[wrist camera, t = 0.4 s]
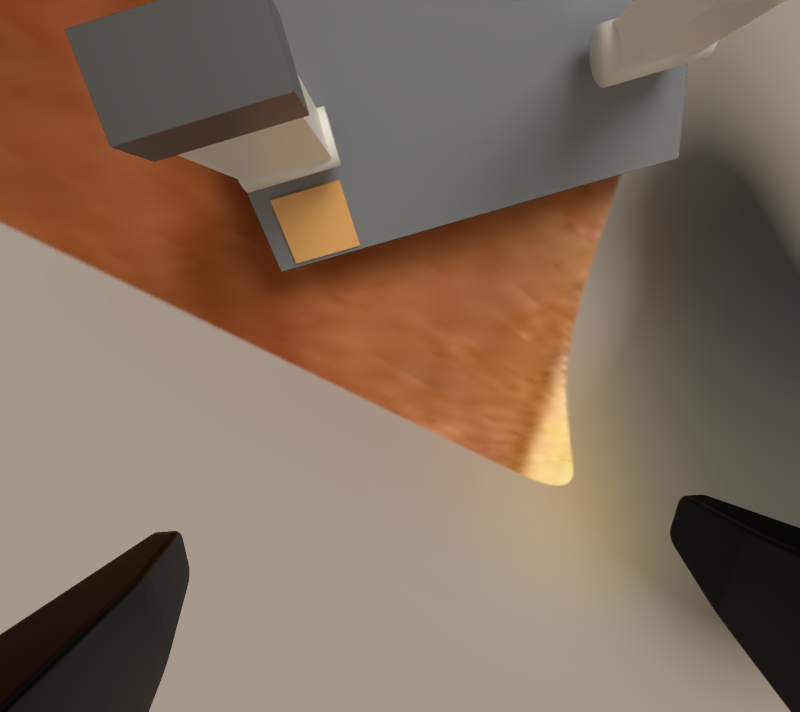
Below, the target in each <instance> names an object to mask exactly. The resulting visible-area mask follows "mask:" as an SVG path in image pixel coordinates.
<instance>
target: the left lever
mask: <svg viewBox="0 0 800 712" xmlns="http://www.w3.org/2000/svg"><path fill="white" fill-rule="evenodd" d="M65 31H66V34H67V36H68V39H69V42H70V44H71V47H72V49H73V52H74V54H75V57H76V60H77V62H78V65H79V67H80V70H81V72H82V75H83V78H84V80H85V83H86V85H87V88H88V90H89V93H90V96H91V98H92V101H93V103H94V106H95V108H96V111H97V114H98V116H99V119H100V121H101V124H102V127H103V129H104V132H105V134H106V137H107V139H108V142H109V145H110V147H112V148H115V149H118V150H121V151H124V152H127V153H130V154H133V155H136V156H139V157H142V158H145V159H148V160H151V161H154V162H156V161H159V160H162V159H166V158H169V157H172V156H176V155H178V156H181V157H183V158H186V159H188V160H191V161H193V162H196V163H198V164H201V165H203V166H206V167H208V168H211V169H213V170H216V171H218V172H221V173H223V174H226V175H228V176H231V177H233V178H236V179H238V181H239V183H240V185H241V186H242V188H243V189H244V190H245V191H246V192H247V193H249V192H253V191H256V190H260V189H263V188H266V187H270V186H273V185H277V184H280V183H283V182H287V181H290V180H294V179H297V178H300V177H304V176H307V175H311V174H314V173H317V172H321V171H324V170H327V169H331V168H334V167H338V166H341V165H342V164H341V159H340V155H339V151H338V147H337V144H336V140H335V137H334V134H333V130H332V127H331V124H330V121H329V118H328V115H327V112H326V109H325V107H324V106H322V107H319V108H316V106H315V105H314V103H313V101H312V99H311V97H310V96H309V94H308V92H307V90H306V88H305V86H304V85H303V83H302V81H301V79H300V77H299V76H298V74H297V71H296V68H295V64H294V61H293V57H292V54H291V51H290V47H289V44H288V41H287V37H286V34H285V30H284V27H283V24H282V20H281V17H280V14H279V12H278V10H277V8H276V6H275V4H274V2H273V0H156V1H153V2H150V3H147V4H144V5H141V6H137V7H134V8H131V9H128V10H125V11H121V12H118V13H115V14H112V15H109V16H105V17H102V18H99V19H96V20H93V21H90V22H86V23H83V24H80V25H77V26H74V27H70V28H67V29H65Z"/></svg>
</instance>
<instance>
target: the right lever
mask: <svg viewBox="0 0 800 712" xmlns="http://www.w3.org/2000/svg"><path fill="white" fill-rule="evenodd" d="M784 1H785V0H635V1H634V2H633V3H632V4H631V5H630V6H628V7H627V8H626V9H625V10H624V11H623V12H622V13H621V14H620V15H619V16H618V17H617V18H615V19H612V20H608V21H605V22H602V23H599V24H597V25H596V27H595V28H594V30H593V32H592V35H591V40H590V47H589V59H590V67H591V71H592V75H593V78H594V80H595V82H596V83H597V85H598V86H599V87H601V88H606V87H609V86H612V85H616V84H619V83H623V82H626V81H629V80H633V79H636V78H640V77H643V76H646V75H650V74H653V73H657V72H660V71H663V70H667V69H670V68H674V67H677V66H680V65H684V64H687V63H690V62H694V61H697V60H701V59H704V58H706V57H708V56H709V55H710V54H711V53H712V52H713V50H714V49H715V47H716V45H717V43H718V41H719V40H721V39H722V38H724V37H726V36H727V35H729V34H731V33H732V32H734V31H736V30H737V29H739V28H741V27H742V26H744V25H746V24H747V23H749V22H750V21H752V20H754V19H755V18H757V17H759V16H761V15H762V14H764V13H765V12H767V11H769V10H770V9H772V8H774V7H775V6H777V5H779V4H780V3H782V2H784Z"/></svg>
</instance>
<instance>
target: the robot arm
mask: <svg viewBox="0 0 800 712" xmlns="http://www.w3.org/2000/svg"><path fill="white" fill-rule="evenodd" d="M670 535H671V540H672V543H673V545H674V547H675V548H676V550H677V552H678V553H679V555H680V556H681V558H682V560H683V561H684V563H685V564H686V566H687V568H688V569H689V570H690V572H691V574H692V576H693V577H694V579H695V580H696V582H697V584H698V585H699V587H700V588H701V590H702V592H703V593H704V595H705V596H706V598H707V600H708V601H709V603H710V604H711V606H712V607H713V609H714V610H715V612H716V613H717V615H718V616H719V617H720V619H721V620H722V622H723V623H724V624H725V626H726V627H727V628H728V630H729V631H730V632H731V634H732V635H733V636H734V638H735V639H736V640H737V641H738V643H739V644H740V645H741V647H742V648H743V649H744V651H745V652H746V653H747V655H748V656H749V657H750V658H751V660H752V661H753V663H754V664H755V665H756V667H757V668H758V669H759V670H760V672H761V673H762V674H763V676H764V677H765V678H766V680H767V681H768V682H769V684H770V685H771V686H772V688H773V689H774V690H775V691H776V693H777V694H778V695H779V697H780V698H781V699H782V701H783V702H784V703H785V705H786V706H787V707H788V709H789V710H790V711H791V712H800V528H798V527H796V526H793V525H790V524H787V523H784V522H781V521H778V520H775V519H772V518H770V517H767V516H764V515H761V514H758V513H755V512H752V511H749V510H747V509H744V508H741V507H738V506H735V505H732V504H729V503H726V502H723V501H721V500H718V499H715V498H712V497H709V496H706V495H688V496H683V497H682V498H681V499H680V500H679V502H678V505H677V508H676V512H675V515H674V518H673V522H672V525H671V529H670ZM188 582H189V565H188V560H187V555H186V551H185V547H184V543H183V539H182V536H181V534H180V533H179V532H177V531H170V532H158V533H154V534H153V535H151V536H149V537H147V538H146V539H145V540H143V541H142V542H140V543H139V544H137V545H135V546H134V547H132V548H131V549H129V550H128V551H126V552H125V553H124V554H122V555H120V556H119V557H117V558H116V559H115V560H113V561H111V562H110V563H108V564H107V565H105V566H104V567H102V568H101V569H99V570H98V571H96V572H94V573H93V574H91V575H90V576H88V577H87V578H85V579H84V580H82V581H81V582H79V583H78V584H76V585H75V586H73V587H72V588H70V589H69V590H68V591H66V592H64V593H63V594H61V595H60V596H58V597H57V598H55V599H54V600H52V601H51V602H49V603H48V604H46V605H44V606H43V607H42V608H40V609H38V610H37V611H35V612H34V613H33V614H31V615H29V616H28V617H26V618H25V619H23V620H22V621H20V622H19V623H17V624H16V625H14V626H13V627H11V628H10V629H8V630H7V631H5V632H4V633H2V634H1V635H0V712H149V709H150V707H151V704H152V701H153V699H154V696H155V694H156V691H157V689H158V686H159V684H160V681H161V678H162V676H163V673H164V670H165V667H166V664H167V660H168V657H169V654H170V650H171V646H172V643H173V639H174V635H175V631H176V627H177V624H178V620H179V616H180V612H181V608H182V605H183V601H184V597H185V594H186V590H187V586H188Z"/></svg>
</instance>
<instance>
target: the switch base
mask: <svg viewBox="0 0 800 712" xmlns="http://www.w3.org/2000/svg"><path fill="white" fill-rule="evenodd" d="M634 1H635V0H273V2H274V4H275V6H276V8H277V10H278V12H279V14H280V17H281V20H282V24H283V27H284V30H285V34H286V37H287V41H288V44H289V47H290V51H291V54H292V57H293V61H294V64H295V68H296V71H297V74H298V76H299V77H300V79H301V81H302V83H303V85H304V86H305V88H306V90H307V92H308V94H309V96H310V97H311V99H312V101H313V103H314V105H315V106H316V108H319V107H322V106H324V107H325V109H326V112H327V115H328V118H329V121H330V124H331V127H332V130H333V134H334V137H335V140H336V144H337V147H338V151H339V155H340V159H341V164H342V165H341V166H338V167H334V168H331V169H327V170H324V171H321V172H317V173H314V174H311V175H307V176H304V177H300V178H297V179H294V180H290V181H287V182H283V183H280V184H277V185H273V186H270V187H266V188H263V189H260V190H256V191H253V192H249V193H247V194H248V197H249V199H250V201H251V203H252V206H253V208H254V210H255V212H256V215H257V217H258V219H259V222H260V224H261V226H262V228H263V231H264V233H265V235H266V237H267V240H268V242H269V244H270V247H271V249H272V251H273V253H274V256H275V258H276V260H277V262H278V265H279V267H280V269H281V272H282V271H285V270H289V269H292V268H296V267H299V266H303V265H306V264H310V263H313V262H317V261H320V260H324V259H327V258H331V257H334V256H338V255H341V254H345V253H348V252H352V251H355V250H359V249H362V248H365V247H369V246H372V245H376V244H379V243H383V242H386V241H390V240H393V239H397V238H400V237H404V236H407V235H411V234H414V233H418V232H421V231H425V230H428V229H432V228H435V227H439V226H442V225H446V224H449V223H453V222H456V221H460V220H463V219H467V218H470V217H473V216H477V215H480V214H484V213H487V212H491V211H494V210H498V209H501V208H505V207H508V206H512V205H515V204H519V203H522V202H526V201H529V200H533V199H536V198H540V197H543V196H547V195H550V194H554V193H557V192H561V191H564V190H568V189H571V188H574V187H578V186H581V185H585V184H588V183H592V182H595V181H599V180H602V179H606V178H609V177H613V176H616V175H620V174H623V173H627V172H630V171H634V170H637V169H641V168H644V167H648V166H651V165H655V164H658V163H661V162H665V161H668V160H672V159H675V158H678V157H679V156H678V155H679V147H680V136H681V127H682V117H683V107H684V98H685V97H684V96H685V88H686V78H687V68H688V63H687V64H684V65H680V66H677V67H674V68H670V69H667V70H663V71H660V72H657V73H653V74H650V75H646V76H643V77H640V78H636V79H633V80H629V81H626V82H623V83H619V84H616V85H612V86H609V87H606V88H601V87H599V86H598V85H597V83H596V82H595V80H594V78H593V75H592V71H591V67H590V59H589V47H590V40H591V35H592V32H593V30H594V28H595V27H596V25H597V24H599V23H602V22H605V21H608V20H612V19H615V18H617V17H618V16H619V15H620V14H621V13H622V12H623V11H624V10H625V9H626V8H627V7H628V6H630V5H631V4H632V3H633V2H634Z"/></svg>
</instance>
